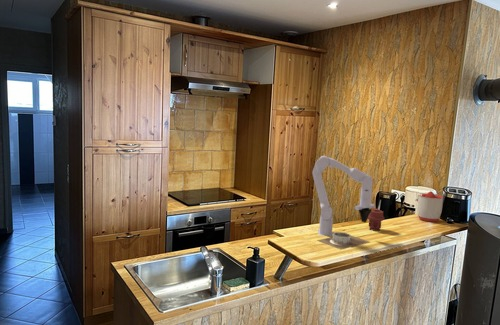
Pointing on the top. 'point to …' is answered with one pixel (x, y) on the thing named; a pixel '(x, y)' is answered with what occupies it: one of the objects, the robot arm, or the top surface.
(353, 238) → the seat board
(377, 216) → the mechanical component
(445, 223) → the top surface
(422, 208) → the citrus juicer
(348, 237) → the steel bearing ring
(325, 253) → the top surface
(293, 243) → the top surface
